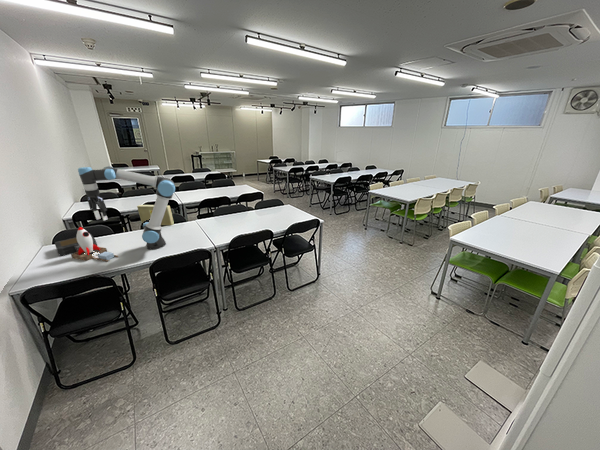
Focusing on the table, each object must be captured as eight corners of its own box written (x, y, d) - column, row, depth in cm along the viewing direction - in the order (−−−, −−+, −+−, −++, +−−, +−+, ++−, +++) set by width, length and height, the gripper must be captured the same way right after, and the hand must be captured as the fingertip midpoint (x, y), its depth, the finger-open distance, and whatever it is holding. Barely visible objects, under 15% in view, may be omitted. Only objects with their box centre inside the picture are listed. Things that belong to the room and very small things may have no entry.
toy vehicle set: (174, 223, 261) (170, 205, 253) (171, 225, 257) (167, 206, 249) (144, 223, 264) (139, 204, 256) (141, 224, 260) (136, 205, 252)
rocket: (89, 258, 191) (77, 230, 181) (78, 257, 193) (67, 229, 183) (102, 251, 201) (92, 225, 192) (92, 250, 203) (81, 224, 194)
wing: (114, 256, 193) (113, 253, 192) (107, 260, 188) (105, 256, 187) (106, 255, 196) (105, 251, 194) (99, 258, 190) (97, 255, 189)
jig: (122, 254, 197) (121, 250, 196) (102, 264, 183) (101, 260, 182) (93, 249, 206) (92, 245, 205) (72, 258, 192) (70, 254, 191)
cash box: (60, 257, 194) (56, 249, 191) (57, 249, 206) (54, 242, 203) (98, 246, 211) (95, 239, 208) (93, 240, 223) (90, 233, 220)
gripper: (107, 189, 168) (116, 219, 177) (87, 187, 173) (97, 216, 182) (96, 191, 162) (106, 222, 170) (76, 189, 167) (87, 219, 175)
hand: (102, 219), depth 176 cm, fingers open, 6 cm apart
